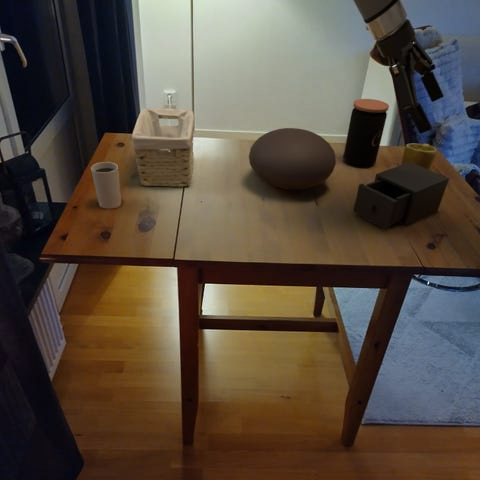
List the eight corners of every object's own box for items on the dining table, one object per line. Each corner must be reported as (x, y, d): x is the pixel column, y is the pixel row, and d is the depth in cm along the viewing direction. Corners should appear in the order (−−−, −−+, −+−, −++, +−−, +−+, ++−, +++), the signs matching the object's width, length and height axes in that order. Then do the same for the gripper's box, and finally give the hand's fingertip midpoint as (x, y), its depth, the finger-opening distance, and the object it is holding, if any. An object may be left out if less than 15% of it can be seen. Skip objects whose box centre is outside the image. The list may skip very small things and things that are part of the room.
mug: (426, 177, 139) (429, 142, 136) (394, 177, 146) (396, 144, 143) (442, 174, 147) (446, 141, 144) (412, 174, 154) (414, 143, 151)
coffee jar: (371, 171, 146) (385, 111, 134) (338, 164, 149) (349, 105, 137) (378, 159, 154) (392, 102, 142) (347, 153, 157) (358, 96, 145)
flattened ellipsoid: (274, 159, 150) (279, 111, 140) (344, 180, 140) (354, 130, 130) (231, 185, 134) (232, 133, 125) (306, 211, 124) (314, 156, 114)
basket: (192, 190, 131) (191, 137, 121) (135, 188, 130) (129, 135, 121) (196, 156, 149) (195, 108, 139) (145, 155, 148) (141, 107, 139)
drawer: (383, 231, 116) (391, 203, 111) (349, 213, 123) (355, 185, 118) (418, 215, 123) (427, 188, 118) (384, 199, 130) (392, 172, 125)
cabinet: (405, 226, 120) (415, 192, 114) (367, 207, 128) (376, 173, 121) (437, 211, 127) (449, 178, 121) (400, 194, 135) (410, 161, 128)
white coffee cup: (121, 196, 126) (116, 160, 120) (124, 207, 122) (119, 171, 115) (96, 199, 125) (89, 163, 118) (98, 210, 120) (92, 173, 113)
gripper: (389, 14, 106) (427, 93, 116) (359, 68, 94) (404, 151, 104) (420, -6, 101) (457, 79, 111) (392, 48, 89) (437, 138, 99)
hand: (432, 114), depth 108 cm, fingers open, 13 cm apart
